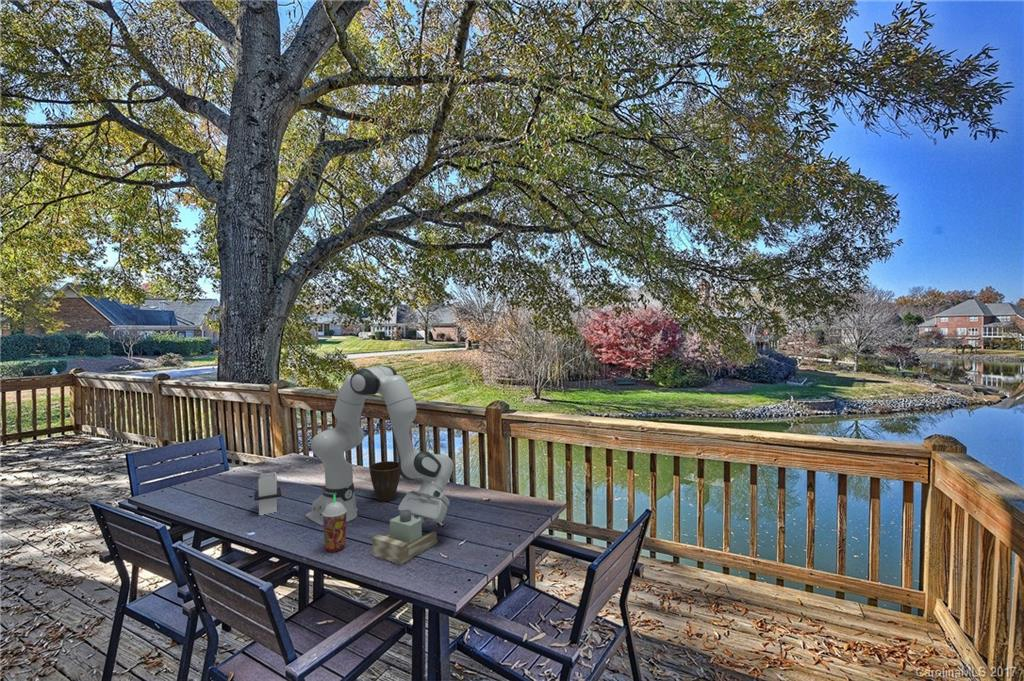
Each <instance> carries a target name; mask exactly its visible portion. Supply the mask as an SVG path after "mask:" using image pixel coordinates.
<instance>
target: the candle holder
mask: <svg viewBox="0 0 1024 681" xmlns="http://www.w3.org/2000/svg"><path fill="white" fill-rule="evenodd" d="M277 479H278V477H277V471H272V472H265V473H260V474H259V478H258V483H257V484H258V490H255V492H254V495H253V496H254V497H253V500H254V501H258V516H259V515H261V516H265V515H264V514H267V515H269V514H268V513H273V514H275V513H274V512H277V513H278V500H277V499H278V498H280V497H282V490H281V487H280V486H278V485H277V484H278V480H277Z"/></svg>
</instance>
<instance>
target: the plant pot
mask: <svg viewBox="0 0 1024 681" xmlns="http://www.w3.org/2000/svg"><path fill="white" fill-rule="evenodd" d="M368 469H369V473H370V474H369V475H370V479H371V484H372V488H373V491H374V493H375V497H376V499H377V502H384V503H386V502H390V501H393V500H394V498H395V495H396V492H397V491H398V490H397V489H398V488H399V487H398V486H399V483H400V480H401V479H400V478H401V474H400V472H399V461H394V460H393V461H392V460H391V461H388V460H387V461H379V462H374V463H372V464H370V465H369V467H368ZM392 499H393V500H392Z"/></svg>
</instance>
